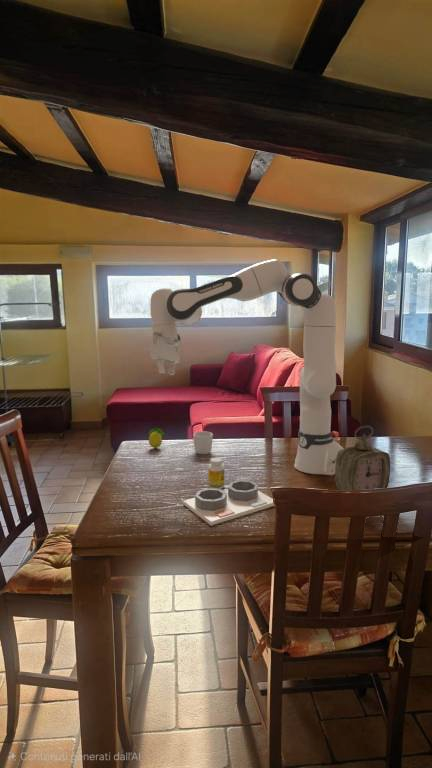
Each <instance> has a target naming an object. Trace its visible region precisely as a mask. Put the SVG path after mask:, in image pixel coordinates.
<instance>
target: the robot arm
mask: <svg viewBox="0 0 432 768" xmlns="http://www.w3.org/2000/svg"><path fill="white" fill-rule="evenodd" d="M271 293H278V294H279V296H280V297H281V298H282V300H283V301H285V303H287V304H288V305H291V306H295V307H300V308H301V309H302V310H303V316H304V320H303V321H304V323H303V336H302V337H303V338H302V339H303V342H302V350H303V351H302V352H303V367H302V368H301V370H300V372H299V406H300V408H299V409H300V413H299V414H300V415H299V416H300V417H299V429H298V435H297V436H298V437H297V439H298V444H297V452H296V456H295V459H294V461H295V462H294V464H293V467H294V468H295V469H296V470H297V471H299V472H302V473H306V474H312V475H325V476H334V475H335V466H336V457H337V454H338V452H339V451H340V450H342V449H345V448H344V447H343V446H341V445H340V444H338V443H337V442H336V441H335V440H334V437H335V438H338V437H339V432H338V431H335V430H333V431H331V423H332V421H331V420H332V407H331V395H333V393H334V392H335V390H336V387H337V372H336V371H337V368H336V367H337V366H336V364H337V363H336V346H335V345H336V332H337V331H336V329H337V310H336V303H335V299H334V298H333V296H331V295H330V294H327V293H322V292H321V290H320V288H319V286H318V283H317V281H316V279H314V277H313V276H311V275H310V274H308V273H305V272H296V273H290V272H288V270H287V268H286V265H285V264H284V263H283V262H282V260H279V259H276V258H273V259H269V260H265V261H262V262H257V263H255V264H253V265H251V266H247V267H245V268H243V269H241V270H239V271H237V272H235V273H233V274H231V275H229V276H226V277H223V278H219V279H217V280H214V281H211V282H209V283H206V284H204V285H200V286H197V287H194V288H193V287H192V288H177V289H176V290H172V288H168V287H167V288H160V289H157V290H155V291H154V292H153V293H152V294H151V297H150V307H149V308H150V317H151V322H152V323H151V338H150V341H149V344H150V350H149V352H150V353H149V354H150V358H151V359H152V360H156V361H155V362H156V366H157V369H158V374H165V372H166V368H165V366H164V363H168V366H169V367H168V369H167V371H168V375H169V376H174V375H175V369H176V364H179V363H180V361H181V344H180V343H181V340H182V338H181V336H180V334H179V333H178V329H177V327H178V326H177V324H180V325H190V326H191V325H193V324H194V325H195V324H196V323H197V322H199V320H200V319H201V317H202V315H203V309H202V307H204V306H207V305H209V304H212V303H215V302H218V301H220V300H224V299H234V300H238V301H240V302H249V301H253V300H256V299H259V298H261V297H264V296H266V295H268V294H271Z"/></svg>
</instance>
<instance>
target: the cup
mask: <svg viewBox="0 0 432 768" xmlns="http://www.w3.org/2000/svg"><path fill="white" fill-rule="evenodd" d="M192 437H193V444H194V445H193V447H194V451H195V453H196V454H198V455H209V454H210V453H211V452H212V447H213V445H212V444H213V437H214V434H213V432H210V431H205V430H201V431H196V432H194V433H193V436H192Z"/></svg>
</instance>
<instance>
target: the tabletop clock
mask: <svg viewBox="0 0 432 768" xmlns="http://www.w3.org/2000/svg"><path fill="white" fill-rule="evenodd" d="M362 429H370V431H371V433H370V434H369V435H368V436H366V434H362V435H361V437H359V436H357V433H358V431H360V430H362ZM373 435H374V429H373V427H372V426H370V425H362V426H359V427H358V428H357V429H356V430H355V432H354V437H355V438H356V439H357V441H356V442H355V444H354V445H353V446H350V447H345V448H344V449H342V450H340V451H339V452H338V454H337V457H336V466H335V474H334V475H335V476H334V480H335V484H336V488H337V490H338V491H339V490H362V489H374V488H387V487H389V483H390V476H391V457H390V453H389V452H386V451H383V450H381V449H379V448H376V447H374V446H372V443H371V442H370V441H369V440H368V439H369V438H371V437H372V436H373ZM387 489H388V488H387Z"/></svg>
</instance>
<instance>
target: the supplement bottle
mask: <svg viewBox="0 0 432 768" xmlns="http://www.w3.org/2000/svg"><path fill="white" fill-rule="evenodd" d="M209 461H210V462H209V463H210V464H209V466H208V488H212V489H221V490H222V489H223V488H225V465H224V464H223V459H222V457H211V458H210V460H209Z"/></svg>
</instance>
